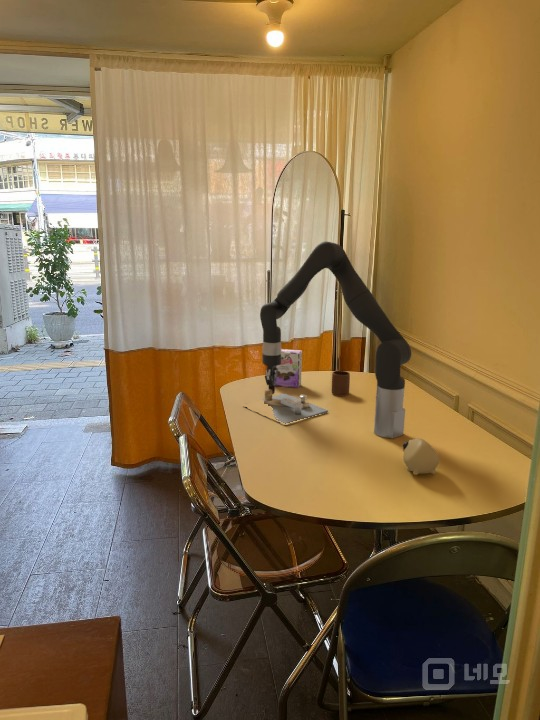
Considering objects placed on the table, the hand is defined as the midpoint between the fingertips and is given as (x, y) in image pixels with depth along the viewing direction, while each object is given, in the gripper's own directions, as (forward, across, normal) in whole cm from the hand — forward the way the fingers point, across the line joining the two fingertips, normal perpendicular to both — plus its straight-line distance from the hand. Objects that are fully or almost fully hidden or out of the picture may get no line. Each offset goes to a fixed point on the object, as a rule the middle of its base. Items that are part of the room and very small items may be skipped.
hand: (271, 393), depth 204 cm
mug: (+5, +22, -25) cm, 33 cm away
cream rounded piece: (+4, -47, -56) cm, 73 cm away
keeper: (+3, -7, -13) cm, 15 cm away
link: (+3, -4, -7) cm, 9 cm away
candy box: (+5, +25, 0) cm, 26 cm away
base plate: (+4, -6, -7) cm, 10 cm away
